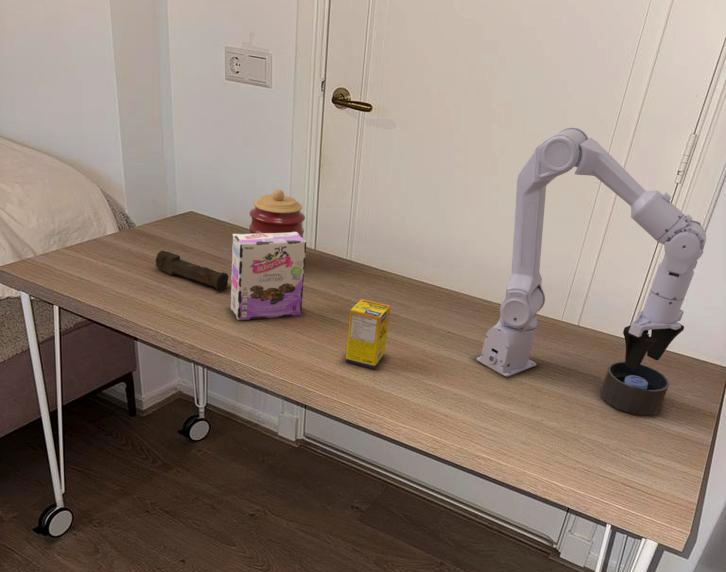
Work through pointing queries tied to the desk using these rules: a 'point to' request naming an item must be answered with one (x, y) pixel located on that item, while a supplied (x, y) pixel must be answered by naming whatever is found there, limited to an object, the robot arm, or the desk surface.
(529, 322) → the robot arm
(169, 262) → the hand tool
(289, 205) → the kitchen canister
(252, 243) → the candy box
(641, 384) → the decorative dice
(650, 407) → the dark grey round bowl
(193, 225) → the desk surface
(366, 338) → the supplement box
